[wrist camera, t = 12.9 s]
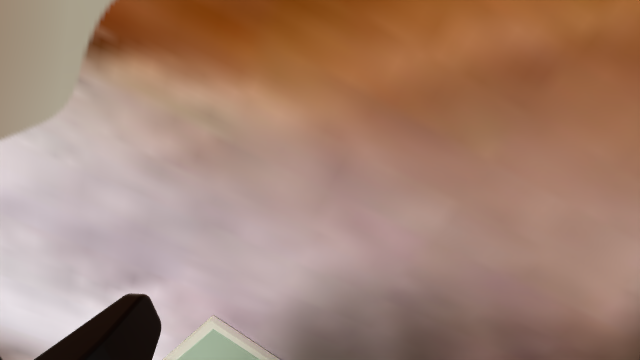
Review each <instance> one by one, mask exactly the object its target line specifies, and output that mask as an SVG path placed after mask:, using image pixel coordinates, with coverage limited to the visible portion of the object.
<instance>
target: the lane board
mask: <svg viewBox="0 0 640 360" xmlns="http://www.w3.org/2000/svg"><path fill="white" fill-rule="evenodd" d="M163 360H280V359H278V358H277V357H275V356H274V355H272V354H271V353H269V352H268V351H266V350H265V349H263V348H262V347H260V346H259V345H257V344H256V343H254V342H253V341H251V340H250V339H248V338H247V337H245V336H244V335H242V334H241V333H239V332H238V331H236V330H235V329H233V328H232V327H230V326H229V325H227V324H226V323H224V322H223V321H221V320H220V319H218V318H217V317H215V316H214V315H213V316H212V317H210V318H209V319H208V320H207V321H206V322H205V323H204V324H202V325H201V326H200V327H199V328H198V329H197V330H196V331H194V332H193V333H192V334H191V335H190V336H189V337H188V338H187V339H185V340H184V341H183V342H182V343H181V344H180V345H179V346H177V347H176V348H175V349H174V350H173V351H172V352H171V353H169V354H168V355H167V356H166V357H165V358H164V359H163Z"/></svg>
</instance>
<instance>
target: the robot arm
mask: <svg viewBox="0 0 640 360" xmlns="http://www.w3.org/2000/svg"><path fill="white" fill-rule="evenodd" d="M160 333H161V321H160V318H159V316H158V314H157V312H156V310H155V308H154V306H153V303H152V301H151V299H150V298H149V296H147V295H145V294H127V295H125V296H123V297H122V298H120V299H119V300H117V301H116V302H115V303H113V304H112V305H110V306H109V307H108V308H106V309H105V310H103V311H102V312H101V313H99V314H98V315H96V316H95V317H93V318H92V319H91V320H89V321H88V322H86V323H85V324H84V325H82V326H81V327H79V328H78V329H77V330H75V331H74V332H72V333H71V334H69V335H68V336H67V337H65V338H64V339H62V340H61V341H60V342H58V343H57V344H55V345H54V346H52V347H51V348H50V349H48V350H47V351H45V352H44V353H43V354H41V355H40V356H38V357H37V358H36V359H34V360H152V358H153V355H154V352H155V349H156V346H157V343H158V340H159V337H160Z"/></svg>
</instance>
